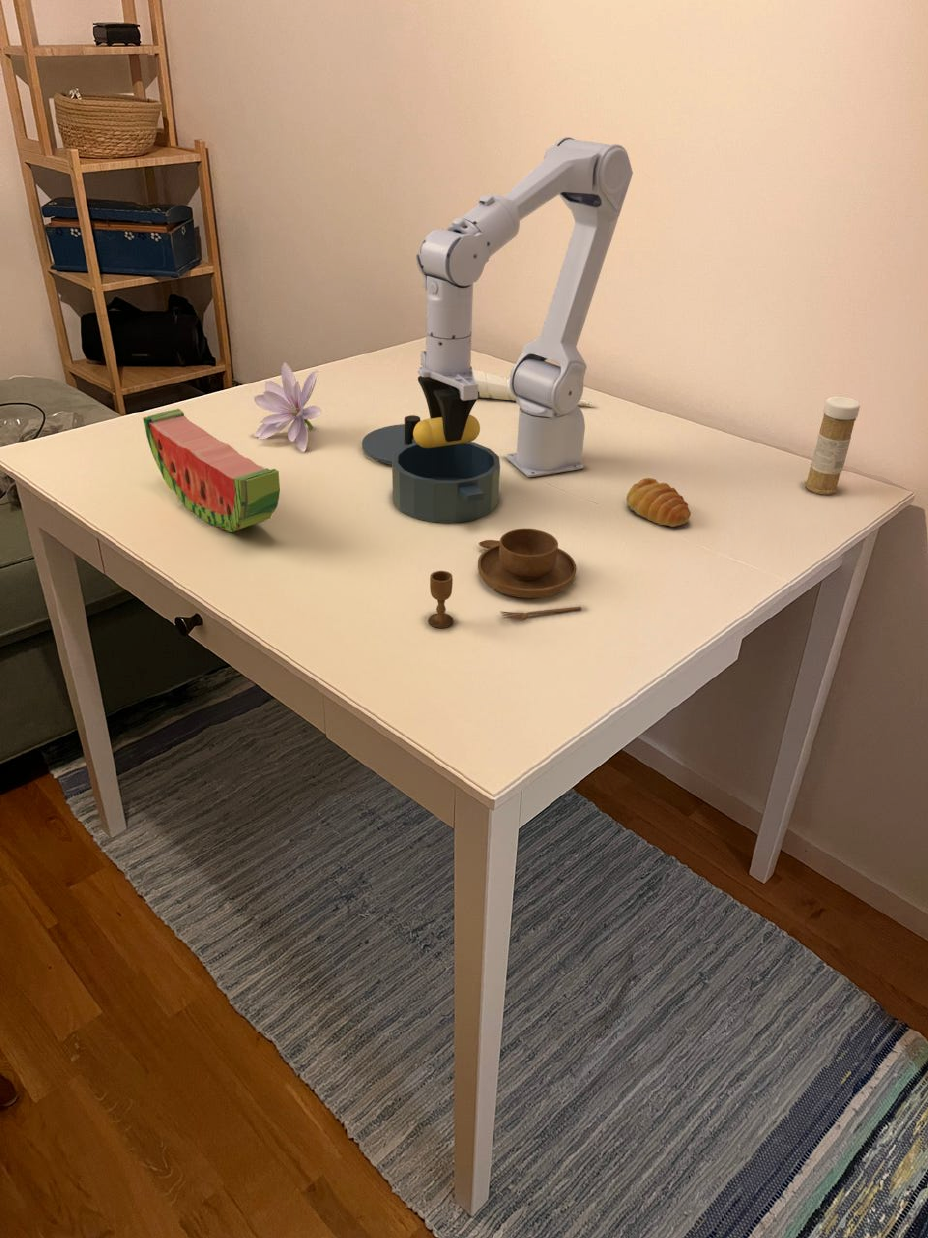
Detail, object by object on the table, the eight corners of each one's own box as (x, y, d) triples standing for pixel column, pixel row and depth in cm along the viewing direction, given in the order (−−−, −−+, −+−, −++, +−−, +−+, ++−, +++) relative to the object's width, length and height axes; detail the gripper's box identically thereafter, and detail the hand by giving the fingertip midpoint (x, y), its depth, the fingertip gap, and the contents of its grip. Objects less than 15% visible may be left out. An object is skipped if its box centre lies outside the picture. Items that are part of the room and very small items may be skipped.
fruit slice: (151, 484, 132) (139, 416, 126) (191, 473, 135) (182, 406, 130) (246, 556, 115) (237, 482, 110) (289, 540, 119) (283, 468, 113)
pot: (464, 464, 140) (465, 426, 137) (524, 521, 125) (526, 481, 122) (372, 478, 135) (371, 439, 132) (422, 539, 120) (423, 498, 117)
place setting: (600, 609, 107) (606, 565, 104) (433, 632, 102) (433, 587, 99) (547, 538, 121) (551, 497, 118) (397, 556, 116) (397, 514, 113)
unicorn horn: (591, 415, 159) (594, 387, 156) (457, 398, 164) (457, 372, 161) (595, 405, 163) (598, 378, 160) (464, 390, 168) (465, 363, 165)
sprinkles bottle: (823, 480, 139) (846, 393, 132) (843, 493, 136) (868, 404, 128) (797, 484, 138) (819, 396, 130) (817, 497, 134) (841, 408, 127)
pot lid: (439, 425, 153) (440, 395, 151) (478, 461, 141) (480, 429, 139) (349, 437, 148) (347, 406, 145) (381, 476, 136) (381, 443, 133)
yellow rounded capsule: (472, 434, 129) (473, 408, 127) (484, 444, 126) (485, 418, 124) (409, 443, 126) (408, 416, 123) (419, 454, 123) (419, 426, 121)
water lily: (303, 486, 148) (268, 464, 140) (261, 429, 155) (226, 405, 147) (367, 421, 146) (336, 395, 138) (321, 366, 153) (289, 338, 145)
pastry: (701, 523, 126) (706, 497, 124) (664, 534, 123) (668, 508, 121) (655, 496, 133) (659, 471, 131) (619, 506, 130) (622, 481, 128)
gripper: (399, 319, 122) (400, 418, 129) (441, 352, 111) (439, 458, 118) (449, 315, 124) (447, 412, 132) (495, 346, 113) (490, 451, 121)
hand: (446, 434), depth 125 cm, fingers closed on yellow rounded capsule, 4 cm apart
